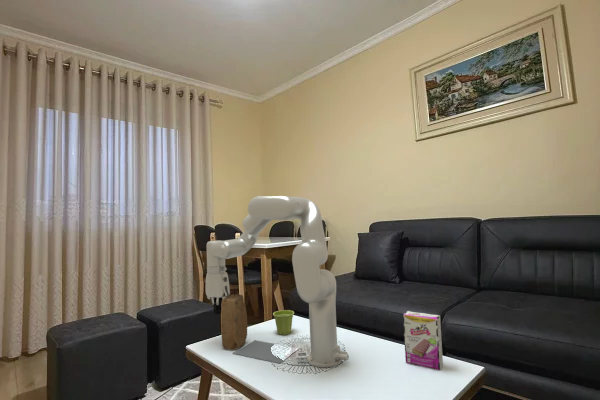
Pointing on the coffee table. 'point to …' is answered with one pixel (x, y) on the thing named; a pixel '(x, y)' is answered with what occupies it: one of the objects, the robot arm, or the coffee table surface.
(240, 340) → the block
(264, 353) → the mat
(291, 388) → the coffee table surface
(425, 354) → the candy bar box
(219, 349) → the coffee table surface
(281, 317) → the plant pot
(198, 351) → the coffee table surface
